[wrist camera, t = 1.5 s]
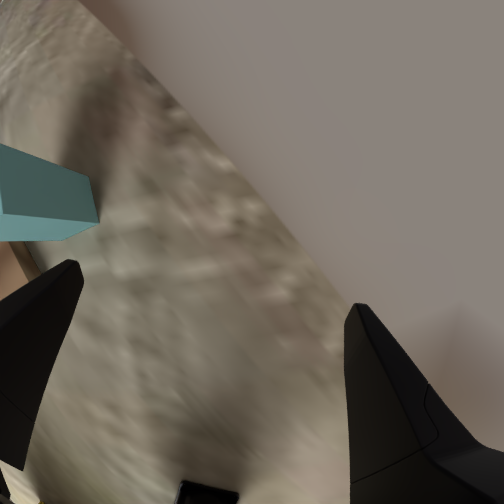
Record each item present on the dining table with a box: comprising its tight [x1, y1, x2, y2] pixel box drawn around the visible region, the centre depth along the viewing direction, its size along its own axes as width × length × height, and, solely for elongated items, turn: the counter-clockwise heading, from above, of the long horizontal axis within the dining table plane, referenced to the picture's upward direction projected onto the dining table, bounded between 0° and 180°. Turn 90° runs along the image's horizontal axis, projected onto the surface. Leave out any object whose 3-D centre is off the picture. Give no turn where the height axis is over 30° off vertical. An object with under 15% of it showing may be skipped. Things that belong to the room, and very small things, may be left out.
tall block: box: [0, 144, 99, 241], centre depth 17 cm, size 4×4×12 cm
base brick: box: [0, 241, 41, 300], centre depth 22 cm, size 9×9×2 cm
